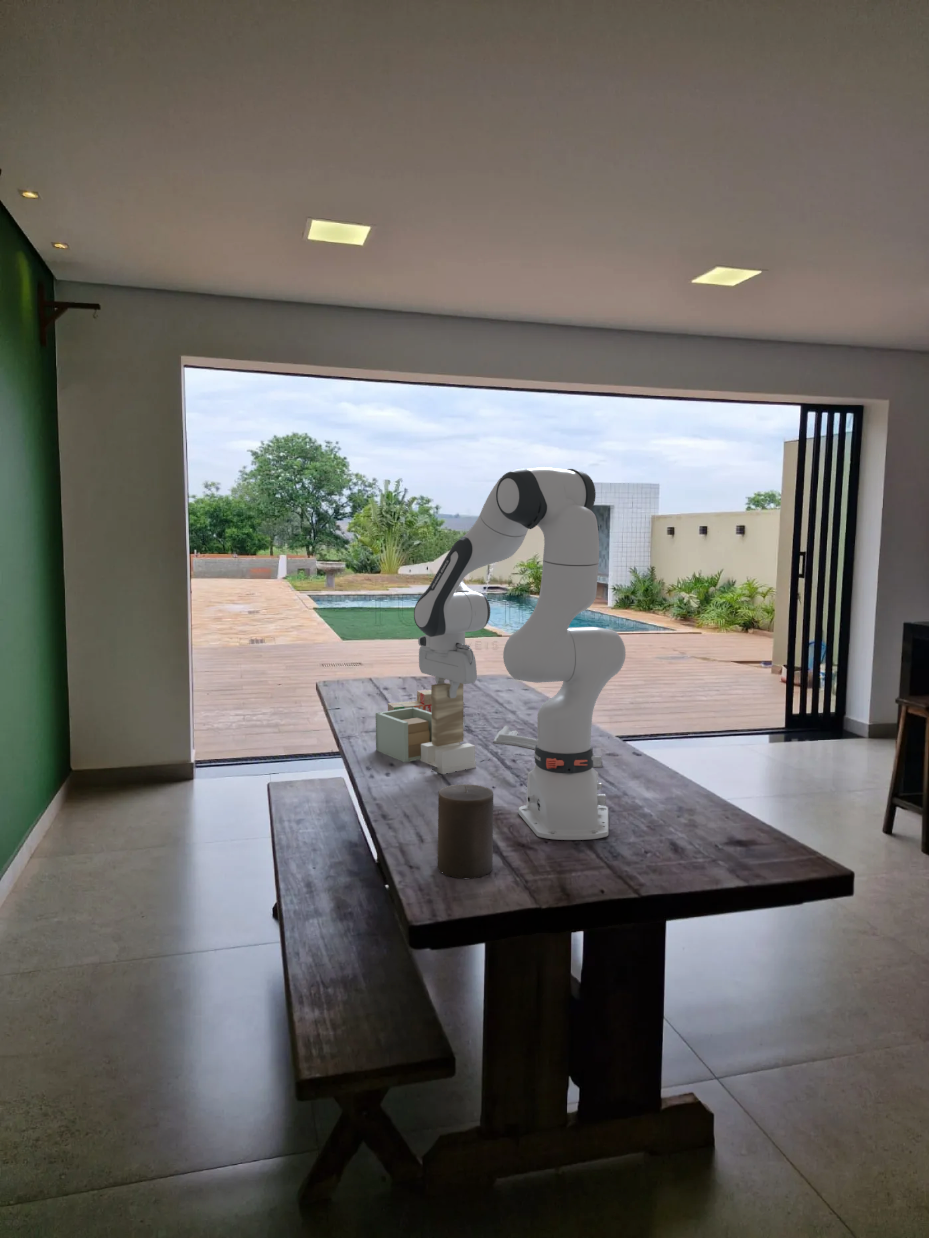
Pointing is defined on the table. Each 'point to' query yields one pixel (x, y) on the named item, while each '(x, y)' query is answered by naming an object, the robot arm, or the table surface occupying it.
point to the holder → (449, 757)
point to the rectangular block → (446, 715)
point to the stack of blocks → (416, 702)
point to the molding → (526, 742)
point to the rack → (403, 732)
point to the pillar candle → (465, 831)
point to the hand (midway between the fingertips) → (447, 696)
